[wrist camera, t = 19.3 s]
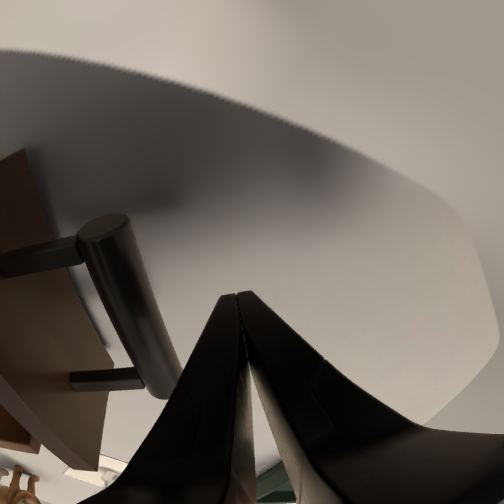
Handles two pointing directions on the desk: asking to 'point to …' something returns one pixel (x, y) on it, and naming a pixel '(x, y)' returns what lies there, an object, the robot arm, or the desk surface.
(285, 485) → the tray
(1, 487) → the lion figurine
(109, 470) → the adhesive hook
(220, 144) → the desk surface
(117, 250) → the drawer
